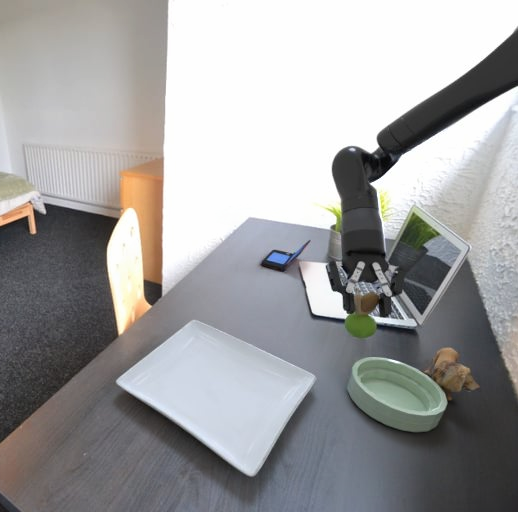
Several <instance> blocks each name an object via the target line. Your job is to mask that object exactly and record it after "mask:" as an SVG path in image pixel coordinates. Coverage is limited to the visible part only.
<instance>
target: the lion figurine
mask: <svg viewBox="0 0 518 512" xmlns="http://www.w3.org/2000/svg"><path fill="white" fill-rule="evenodd" d="M459 358H460V355H459V352H457V351H456V350H455V349H454V348H452V347H442V348H441V349H439V350H438V351H437V353H436V354H435V355H434V357H433V358H432V359H431V361H432V362H431V365H429V367H428V368H427V369H426V370H424V371H423V373H424V374H426V375H427V376H429V377H430V378H431V379H432V380H433V381H434V382H436V383H437V384H438V385H439V386H440V388H441V389H442V390H443V392H444V393H445V395H446V399H447V401H452V400H453V398H452V397H451V396H450V394H451V393H460V392H461V391H462V390H463V389H464V390H465V391H466V392H468V393H470V392H472V391H475V390H477V389H479V388H480V385H479V384H478V383H477V382H476V381H475V380H474V377H473V376H472V375H471V373H472V372H471V368H470V367H468V366H464V365H463V364H461V363H459Z"/></svg>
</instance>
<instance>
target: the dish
mask: <svg viewBox="0 0 518 512" xmlns="http://www.w3.org/2000/svg"><path fill="white" fill-rule="evenodd" d="M431 378H432V377H431V376H428V375H426V374H424V372H423V371H421V370H419V369H418V368H416V367H413V366H411V365H409V364H406V363H404V362H401V361H398V360H394V359H391V358H386V357H380V356H379V357H378V356H371V357H364V358H361V359H359V360H356V361H355V362H354V364H353V365H352V367H351V370H350V372H349V376H348V379H347V381H346V383H347V386H346V390H347V392H348V394H349V397H350V399H352V401H353V402H354V404H355V405H356V406H357V407H358V409H360V410H361V411H363V412H364V413H366V414H367V415H368V416H369V417H371V418H372V419H374V420H376V421H377V422H380V423H381V424H384V425H386V426H388V427H391V428H393V429H397V430H400V431H405V432H411V433H423V432H430V431H431V430H432V429H435V428H436V427H437V426H438V424H439V423H440V421H441V419H442V416H443V414H444V413H445V411H446V408H447V406H448V400H447V399H446V395H445V393H444V392H443V391H444V390H443V389H441V388H440V386H439V385H438V384H437V383H436V382H434V381H433V380H432V379H431Z"/></svg>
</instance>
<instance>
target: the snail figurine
mask: <svg viewBox="0 0 518 512" xmlns="http://www.w3.org/2000/svg"><path fill="white" fill-rule="evenodd" d="M354 289H355V293H354V306H355V312H354V313H353V314H347V315H346V317H345V319H344V328H345V330H346V332H347V333H348V334H349V335H351V336H352V337H354V338H357V339H368V338H370V337H372V336H373V335H374V334H375V333H376V331H377V329H378V326H377V325H378V324H377V321H376V319H375V318H374V316H372V315H371V314H372V313H373V312H374V311H375V309H376V308H377V307H378V306H379V304H378V303H379V300H380V297H379V295H378V294H377V292H375V291H368V292H366V293H364V294H362V291H363V290H362V289H360V288H359V287H355V288H354ZM357 291H358V292H357Z"/></svg>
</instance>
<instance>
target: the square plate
mask: <svg viewBox="0 0 518 512" xmlns="http://www.w3.org/2000/svg"><path fill="white" fill-rule="evenodd" d="M316 381H317V376H316V375H314V374H313V373H311V372H310V371H307V370H305V369H303V368H301V367H299V366H297V365H294V364H292V363H290V362H288V361H286V360H284V359H282V358H279V356H276V355H274V354H271V353H269V352H268V351H265V350H263V349H261V348H258V347H256V346H255V345H253V344H250V343H248V342H246V341H244V340H242V339H240V338H238V337H236V336H233V335H231V334H228V333H226V332H224V331H223V330H220V329H217V328H216V327H213V326H211V325H210V324H209V325H208V324H207V323H204V322H202V321H199V320H197V319H192V320H190V321H189V322H188V323H186V324H185V325H184V326H183V327H181V328H180V329H178V331H176V332H175V333H174V334H173V335H171V336H170V337H169V338H167V339H166V340H165V341H164V342H162V343H161V344H160V345H158V346H157V347H156V348H154V349H153V350H152V351H151V352H149V354H147V355H146V356H144V357H143V358H142V359H140V360H139V361H138V362H136V363H135V364H134V365H133V366H132V367H130V368H129V369H128V370H127V371H126V372H124V373H123V374H122V375H121V376H119V377H118V378H117V379H116V380H115V384H116V385H117V386H118V387H119V388H121V389H122V390H124V392H127V393H129V394H130V395H132V396H133V397H135V398H136V399H137V400H139V401H140V402H142V403H144V404H145V405H147V406H149V407H150V408H152V409H153V410H155V411H156V412H158V413H159V414H160V415H162V416H163V417H165V418H167V419H168V420H170V421H171V422H172V423H174V424H175V425H177V426H178V427H180V429H182V430H184V431H185V432H186V433H188V434H189V435H191V436H192V437H194V438H195V439H197V440H198V441H199V442H200V443H202V444H203V445H204V446H205V447H207V448H208V449H209V450H211V451H212V452H213V453H215V454H216V455H217V456H218V457H220V458H221V459H223V460H224V461H225V462H226V463H228V464H229V465H231V467H233V468H235V469H236V470H238V471H239V472H241V473H242V474H243V475H245V476H247V477H250V478H253V477H255V476H256V475H257V474H258V473H259V472H260V471H261V469H262V467H263V465H264V464H265V462H266V461H267V459H268V457H269V455H270V454H271V451H272V450H273V448H274V447H275V445H276V443H277V441H278V440H279V438H280V436H281V434H282V433H283V431H284V429H285V427H286V426H287V424H288V423H289V421H290V419H291V418H292V417H293V415H294V414H295V412H296V410H297V409H298V407H299V406H300V405H301V403H302V402H303V400H304V399H305V398H306V396H307V395H308V393H309V392H311V390H312V388H313V387H314V385H315V384H316Z"/></svg>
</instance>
